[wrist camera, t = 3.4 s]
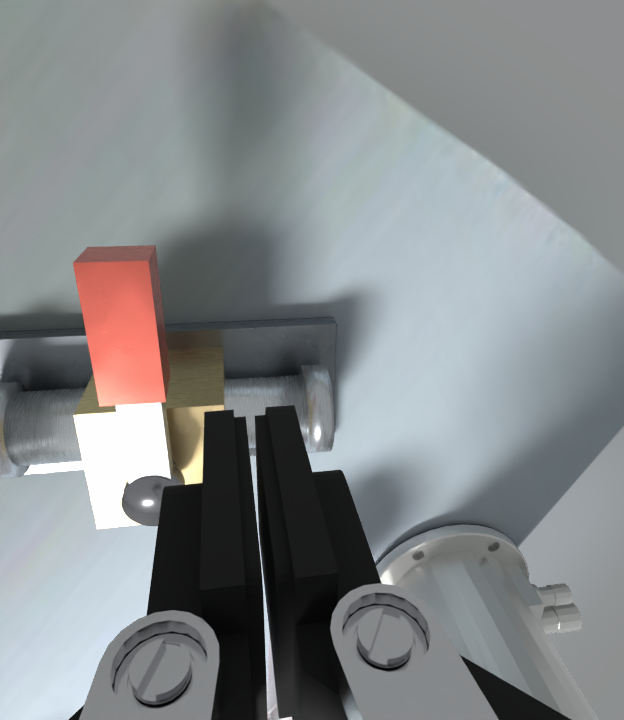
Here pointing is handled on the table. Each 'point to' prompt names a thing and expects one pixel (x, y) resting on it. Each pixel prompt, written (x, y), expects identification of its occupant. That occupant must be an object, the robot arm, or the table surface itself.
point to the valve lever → (131, 366)
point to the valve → (183, 403)
